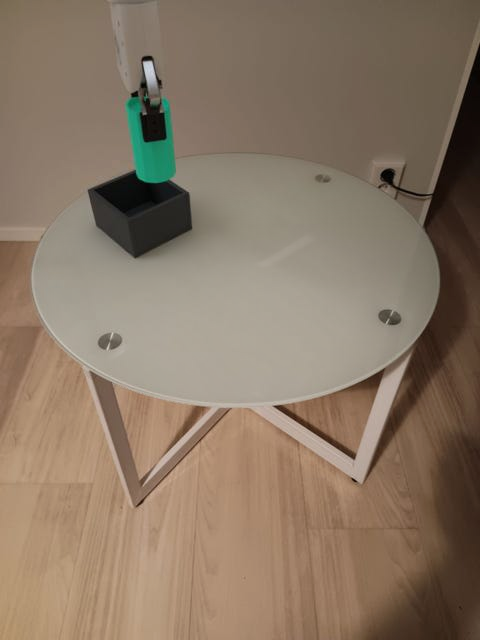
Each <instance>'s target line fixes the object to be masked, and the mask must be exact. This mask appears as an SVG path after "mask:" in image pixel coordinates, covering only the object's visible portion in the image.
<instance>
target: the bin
mask: <svg viewBox="0 0 480 640" xmlns="http://www.w3.org/2000/svg"><path fill="white" fill-rule="evenodd" d="M87 195H88V198H89V203H90V206H91V210H92V211H91V212H92V214H93V218H94V222H95V223H94V224H95V226H96V227H97V228H98V229H99V230H101V231H102V232H103V233H104V234H105V235H107V237H109V238H110V239H111V240H112V241H114V242H115V243H116V244H117V245H118V246H119V247H120V248H121V249H123V250H124V251H125V252H127V254H129V255H130V256H131V257H133V259H136V258H138V257H140V256H143V255H144V254H147V253H148V252H149V251H151V250H154V249H156V248H158V247H160V246H161V245H163V244H165V243H168V242H170V241H171V240H173V239H176V238H177V237H180V236H181V235H183V234H185V233H186V232H189V231H190V230H192V229H193V221H192V208H191V196H190V192H189V191H187V190H186V189H184V188H183V187H182V186H180V185H178V184H177V183H176V182H174V181H173V180H172V179H169V180H168V181H165V182H160V183H149V182H144V181H142V180H140V179H139V178H138V176H137V174H136V169H133V170H130V171H129V172H126V173H123V174H122V175H119V176H116V177H114V178H112V179H110V180H107V181H104V182H102V183H99V184H97V185H95V186H93V187H90V188H88V189H87Z"/></svg>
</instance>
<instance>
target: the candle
mask: <svg viewBox="0 0 480 640" xmlns="http://www.w3.org/2000/svg"><path fill="white" fill-rule="evenodd" d="M146 98H148V96H147V93H146V96H145V97H144V100H145V101H146ZM161 98H162V104H163V110H164V115H165V125H166V134H167V138H166V139H165V140H161V141H154V142H147V143H146V142H144V140H143V135H142V128H141V121H140V114H139V113H140V112H142V111H141V106H140V100H139V97H134V98H131V97H130V98H128V99H127V101H126V102H125V110H126V117H127V118H126V119H127V124H128V130H129V136H130V137H129V138H130V142H131V149H132V156H133V162H134V163H133V164H134V168H135V169H134V170H136V174H137V176H138V178H139V179H140V180H142V181H144V182H149V183H160V182H165V181H168V180H172V179H173V178H174V177H175V176H176V173H177V167H176V156H175V146H174V145H175V143H174V133H173V123H172V114H171V102H170V101H169V100H168V98H165V97H162V96H161Z"/></svg>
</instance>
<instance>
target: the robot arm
mask: <svg viewBox="0 0 480 640" xmlns="http://www.w3.org/2000/svg"><path fill="white" fill-rule="evenodd" d="M105 1H106V2H109V9H110V17H111V25H112V32H113V40H114V41H113V42H114V48H115V57H116V64H117V69H118V73H119V75H120V77H121V81H122V82H123V84H124V87H125V88H126V91H128V92H129V93H130V98H134V97H139V100H140V106H141V111H142V112H140V113H139V114H140V121H141V128H142V135H143V140H144V142H146V143H147V142H154V141H161V140H165V139H166V138H167V134H166V125H165V115H164V110H163V104H162V98H161V97H162V91H161V90H163V89H164V88H165V86H166V65H165V56H164V55H165V54H164V45H163V38H162V37H163V35H162V28H161V19H160V12H159V6H158V5H159V4H158V0H105ZM146 93H147V96H148V98H146V101H145V100H144V97H145V96H146Z"/></svg>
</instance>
